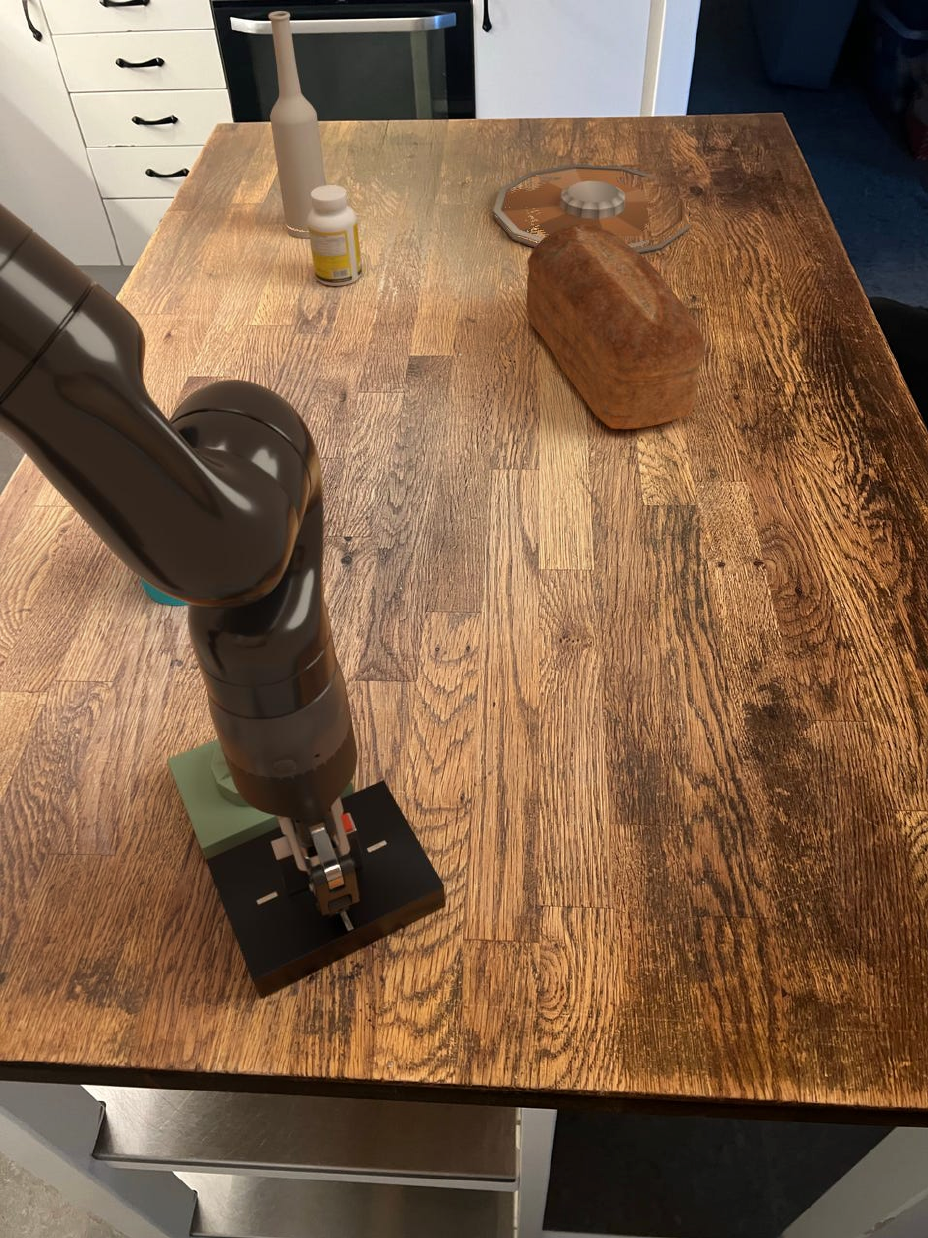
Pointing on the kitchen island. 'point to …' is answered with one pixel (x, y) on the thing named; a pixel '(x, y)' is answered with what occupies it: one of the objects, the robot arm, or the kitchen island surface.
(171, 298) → the kitchen island surface
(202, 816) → the block
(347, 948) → the base
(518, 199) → the shield
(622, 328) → the bread
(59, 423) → the robot arm
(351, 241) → the pill bottle
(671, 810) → the kitchen island surface
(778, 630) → the kitchen island surface
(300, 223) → the bottle
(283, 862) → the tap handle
